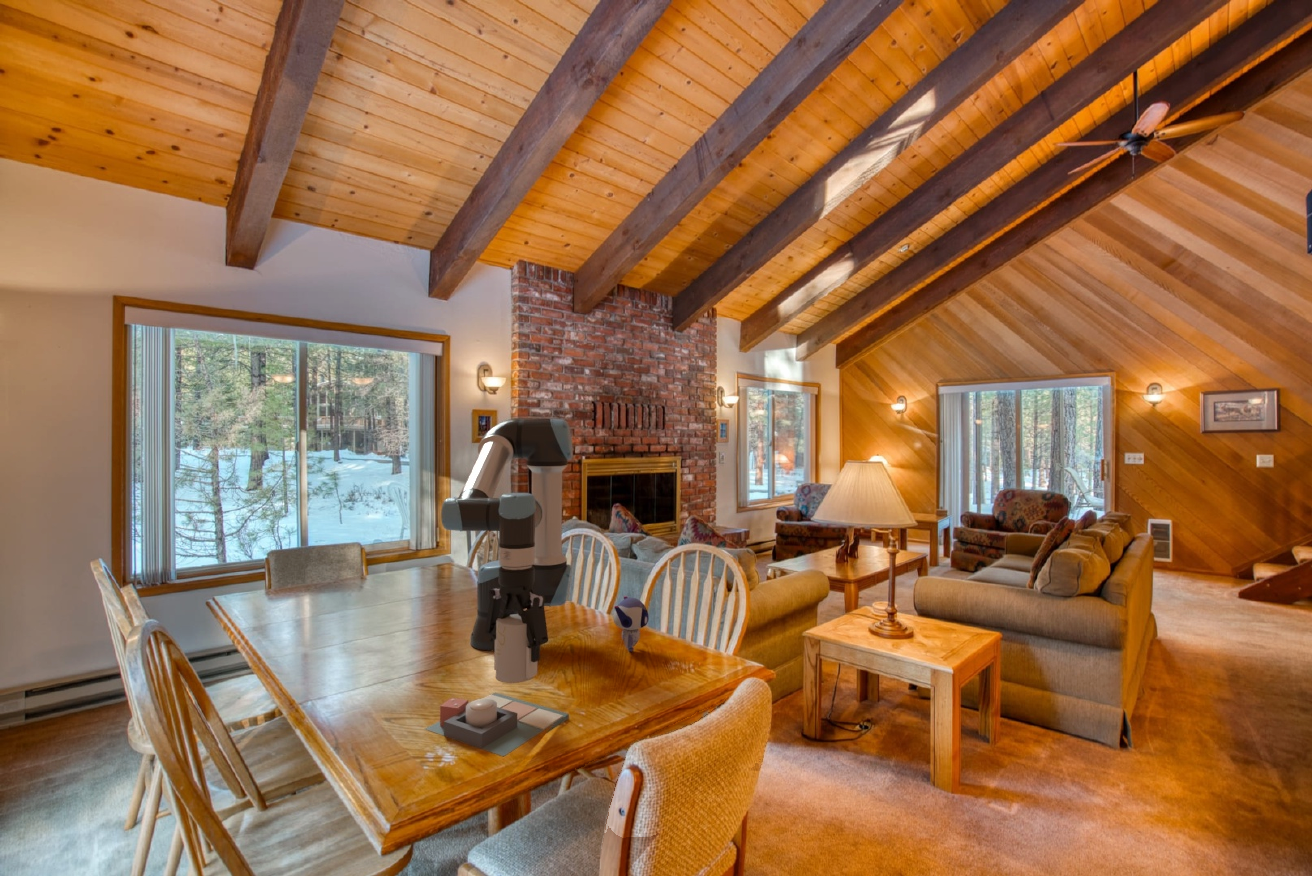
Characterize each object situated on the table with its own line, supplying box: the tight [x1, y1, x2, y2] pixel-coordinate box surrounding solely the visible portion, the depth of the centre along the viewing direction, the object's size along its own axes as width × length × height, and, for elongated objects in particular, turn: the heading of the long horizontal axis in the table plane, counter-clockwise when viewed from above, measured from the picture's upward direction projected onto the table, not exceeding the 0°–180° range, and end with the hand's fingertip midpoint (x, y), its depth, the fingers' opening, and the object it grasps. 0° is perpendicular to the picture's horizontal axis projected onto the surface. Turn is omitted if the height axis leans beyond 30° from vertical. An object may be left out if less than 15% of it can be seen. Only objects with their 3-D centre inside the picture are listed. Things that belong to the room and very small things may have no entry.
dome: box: [466, 698, 497, 729], centre depth 124 cm, size 6×6×4 cm
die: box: [439, 697, 469, 726], centre depth 127 cm, size 4×4×4 cm
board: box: [424, 692, 570, 757], centre depth 128 cm, size 21×20×4 cm
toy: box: [612, 596, 650, 653], centre depth 172 cm, size 11×10×15 cm
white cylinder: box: [495, 614, 535, 684], centre depth 132 cm, size 8×8×12 cm
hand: (515, 671), depth 132 cm, fingers closed on white cylinder, 8 cm apart
